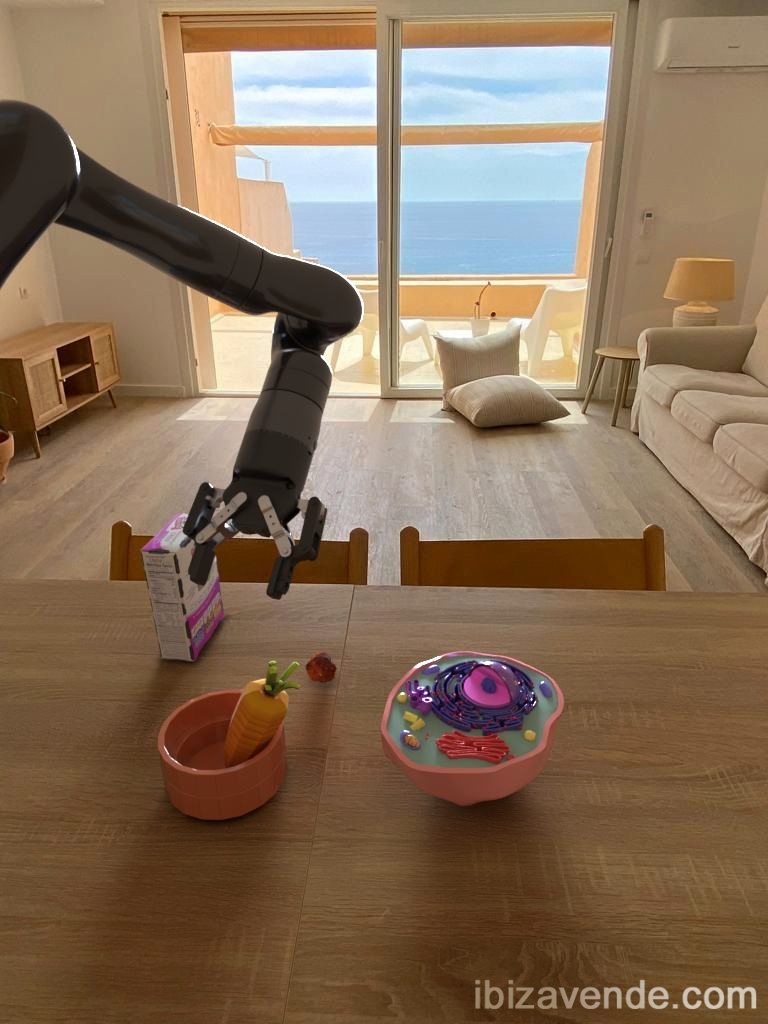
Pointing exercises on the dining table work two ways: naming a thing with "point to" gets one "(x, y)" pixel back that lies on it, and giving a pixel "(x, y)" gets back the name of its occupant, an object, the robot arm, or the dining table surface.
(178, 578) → the candy bar box
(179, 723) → the mixing bowl
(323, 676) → the meatball
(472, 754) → the cell model
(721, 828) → the dining table surface
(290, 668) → the carrot
